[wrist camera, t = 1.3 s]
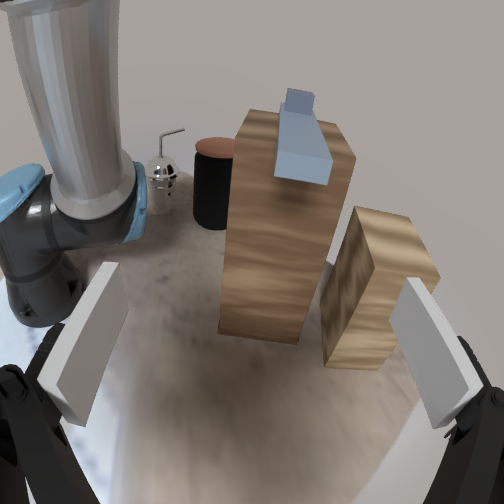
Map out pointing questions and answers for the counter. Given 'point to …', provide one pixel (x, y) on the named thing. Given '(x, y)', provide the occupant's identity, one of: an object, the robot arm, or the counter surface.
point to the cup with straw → (162, 179)
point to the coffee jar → (212, 182)
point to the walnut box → (277, 233)
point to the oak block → (370, 288)
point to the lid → (301, 141)
